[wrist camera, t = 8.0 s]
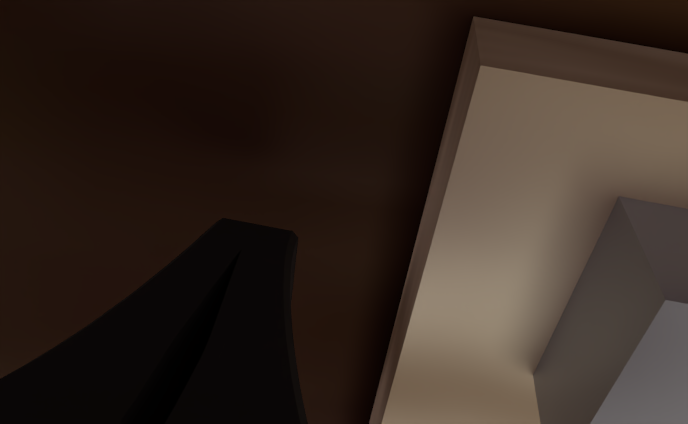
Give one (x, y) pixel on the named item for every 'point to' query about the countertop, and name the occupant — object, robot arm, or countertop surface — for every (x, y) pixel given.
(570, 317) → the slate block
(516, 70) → the birch board
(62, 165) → the countertop surface
